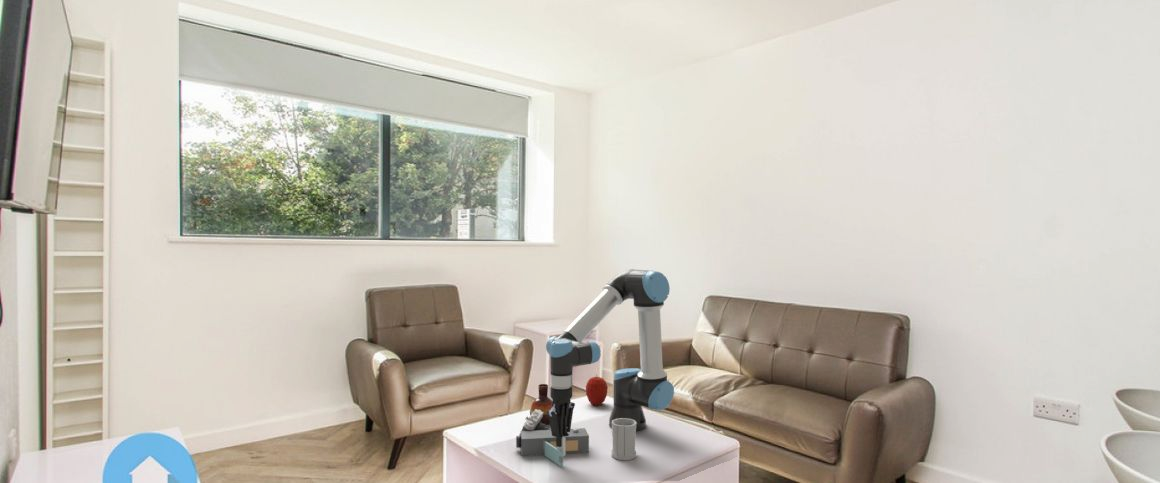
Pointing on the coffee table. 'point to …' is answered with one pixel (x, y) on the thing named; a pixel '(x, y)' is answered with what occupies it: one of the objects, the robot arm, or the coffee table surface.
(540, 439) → the long gray box
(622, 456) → the cup
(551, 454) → the side door
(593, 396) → the apple
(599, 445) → the coffee table surface
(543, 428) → the camera
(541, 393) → the vase
